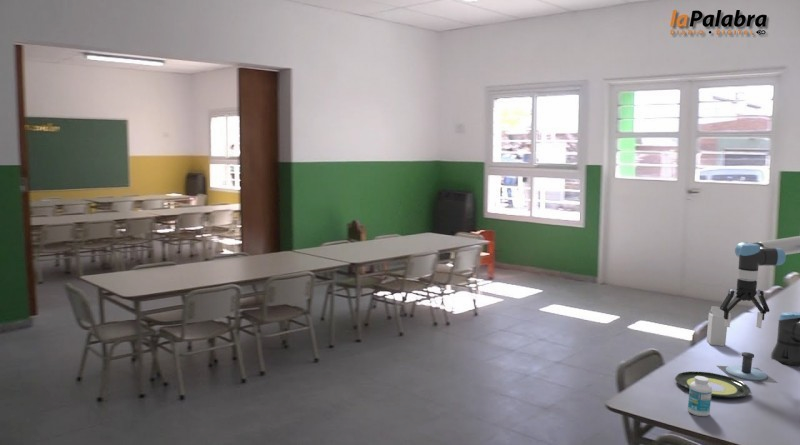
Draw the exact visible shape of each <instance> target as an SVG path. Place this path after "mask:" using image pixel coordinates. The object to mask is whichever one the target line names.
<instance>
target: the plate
mask: <svg viewBox="0 0 800 445" xmlns="http://www.w3.org/2000/svg"><path fill="white" fill-rule="evenodd" d="M695 376H703V377H706V378H708V379H709V381H708V383H709V384H711V383H712V384H715V385H719V386H721V387H723V388H724V389H723V390H712V393H711V397H716V398H724V399H725V398H727V399H733V398H740V397H741V398H742V397H745V396H747V395H749V394H751V389H750V387H749V386H748V385H747V384H746V383H744V381H739V380H736V379H734V378H731V377H729V376H728V375H727V376H726V375H723V374H719V373H713V372H709V371H708V372H706V371H683V372H680V373H678V374H676V375H675V378H674V379H675V381H676V383H677V384H678V385H680V386H682V387H683V388H686V389H688V390H690V384H691V383H692V382H695V380H694V379H695Z"/></svg>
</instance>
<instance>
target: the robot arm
mask: <svg viewBox="0 0 800 445" xmlns="http://www.w3.org/2000/svg"><path fill="white" fill-rule="evenodd" d="M734 253H735V255H736V257H738V267H737V268H738V269H737V279H736V280H737V281H736V290H734V289H731V288H730V289H728V293H727V295H726V297H725V299H724V300H723V302H722V303H721V305H720V306H719V307H720V309H721V310H723V311H724V319H725V326H726V327H727V328H730V327H731V326H730V325H731V317H732V316H731V314H732V313H731V310H732V309H734V308H735V307H736V306H737V304H738V303H740V302H741V301H743V302H745V301H748V302H750V301H751V302H752V303H753V304H754V305H753V306H755V307H756V309H757V310H758V311H757V314H756V315H757V316H756V328H759V329H762V325H763V321H764V320H765V315H766V314H767V313H769V312H770V307H769V305H768V303H767V301H766V298H765V296H764V291H763V290H762V289H758V290H757V287H758V286H757V285H758V281H757V280H758V278H759V277H758V274H759V266H763V267H764V266H765V267H766V266H768V267H769V266H771V267H772V266H774V267H775V266H781V265H784V263H785V262H786V258H787V257H786V256H787V255H793V254H800V235H796V236H789V237H784V238H783V237H782V238H777V239H771V240H770V239H769V240H763V241H758V242H750V243H749V242H745V241H744V242H739V243H738V244H737V245H736V246H735V249H734ZM735 295H736V296H735ZM756 295H757V296H758V299H759V302H758V299H757V298H756ZM778 318H779V319H778V326H777V327H778V328H777V337H776V338H777V339H776V344H775V346H774V347H773V349H772V351H771V356H770V358H771V359H772V360H775V361H776V362H778V363H780V364H784V365H787V366H788V365H789V366H796V367H797V366H798V367H800V312H798V311H797V312H794V311H783V312H781V313H780V314H779V317H778Z"/></svg>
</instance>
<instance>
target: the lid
mask: <svg viewBox="0 0 800 445" xmlns="http://www.w3.org/2000/svg"><path fill="white" fill-rule="evenodd" d="M741 357H742V363H741V365H729V367H726V372H727V373H728V374H730V375H732V376H734V377H737V378H741V379H746V380H754V381H753V382H755V381H760V380H765V379H767V375H768V374H767V373H766V372H764V371H763V370H761V369H760V370H761V371H760V370H757V369H754V368H755V367H752V364H753V359H754V358H755V354H754V353H753V352H752V353H751V352H747V351H745V352H744V351H743V352H741ZM762 371H763V372H762Z"/></svg>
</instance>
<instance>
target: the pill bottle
mask: <svg viewBox="0 0 800 445" xmlns="http://www.w3.org/2000/svg"><path fill="white" fill-rule="evenodd" d="M694 380H695V382H692V383H691V384H690V390H689V389H688V390H689V393H688V403H687V411H688V412H689V413H690V414H692V415H694V416H698V417H708V416H709V415H710V413H711V402H712V400H711V399H712V396H711V393H712V391H713V389H712V388H713V387H712V386H711V384H710V383H709V382H708V381H709V379H708V378H706V377H703V376H695V379H694Z"/></svg>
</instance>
